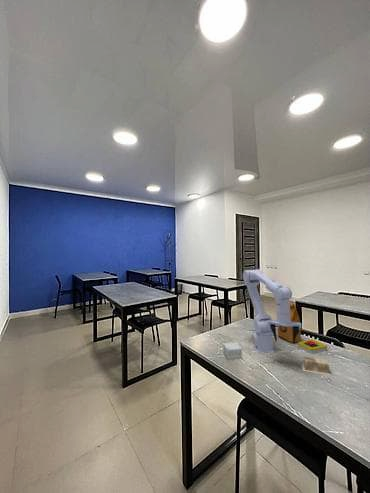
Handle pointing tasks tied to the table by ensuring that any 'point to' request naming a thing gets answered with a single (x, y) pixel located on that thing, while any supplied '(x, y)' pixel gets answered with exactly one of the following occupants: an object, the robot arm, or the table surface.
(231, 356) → the small box
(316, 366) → the wooden block
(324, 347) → the emergency button
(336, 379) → the table surface
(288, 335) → the coffee package
